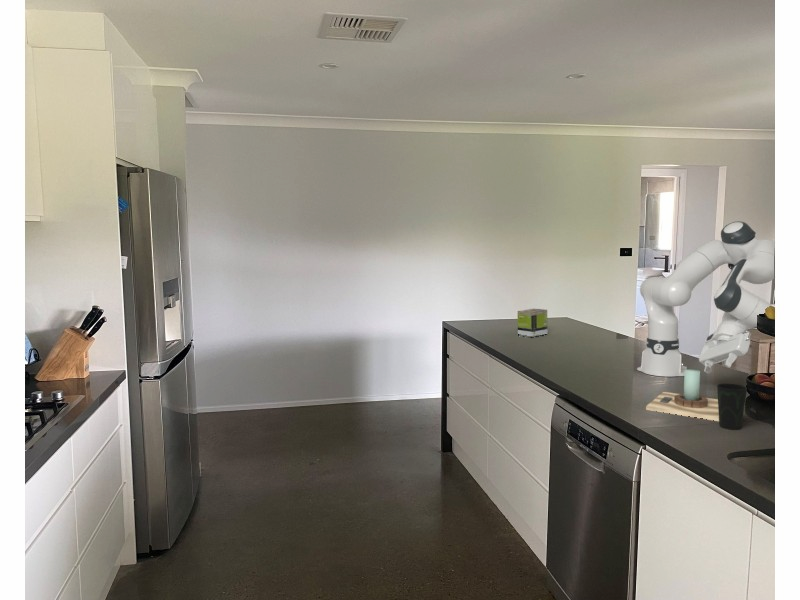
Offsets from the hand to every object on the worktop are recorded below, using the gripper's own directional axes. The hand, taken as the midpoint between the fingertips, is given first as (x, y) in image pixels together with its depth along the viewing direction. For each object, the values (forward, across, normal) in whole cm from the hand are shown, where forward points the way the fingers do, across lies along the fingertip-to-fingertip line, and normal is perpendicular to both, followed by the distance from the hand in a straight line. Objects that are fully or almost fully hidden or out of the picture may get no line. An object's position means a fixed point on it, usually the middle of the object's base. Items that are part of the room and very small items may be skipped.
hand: (716, 369), depth 203 cm
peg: (+18, -3, +6) cm, 19 cm away
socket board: (+19, -3, +5) cm, 20 cm away
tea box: (-34, +129, +30) cm, 137 cm away
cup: (+27, -20, +2) cm, 34 cm away
